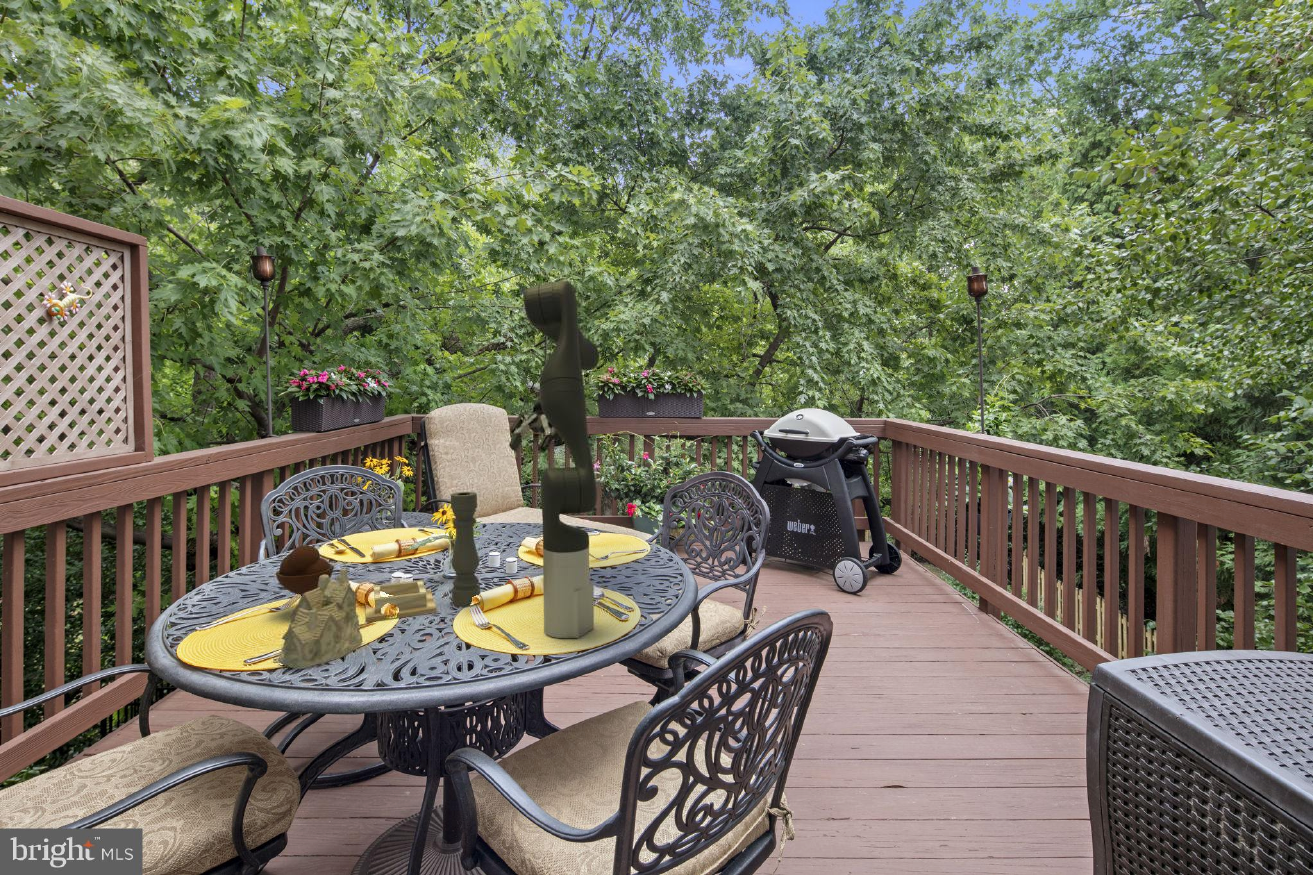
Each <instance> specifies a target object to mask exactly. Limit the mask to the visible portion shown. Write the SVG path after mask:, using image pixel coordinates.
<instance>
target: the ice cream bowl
mask: <svg viewBox="0 0 1313 875" xmlns="http://www.w3.org/2000/svg"><path fill="white" fill-rule="evenodd" d="M334 567H335V566H334V565H333V564H331V563H329V561H327V560H326V559H324V558H322V557H321V555H320V551H319V550H318V548H316V547H314V546H311V545H303V544H302V545H300V546H297V547H295V548H294V549H293V550H292V551H291V552H290V553H289V554H287V555H285V557H283V559H282V560H281V563H280V564H279V570H278V571H276V572H275V576H276V580H277V582H278V583H279V585H280V586H282V587H283V588H284V589H285V590H287V591H288V592H290V593H293V594H295V595H299V596H300V598H301V597H302V595H303V594H304V593H306V592H309V591H312V590H314V589H317V588H318V582H319V577H320V576H322V575H328V576H329V577H330V579H331V577H332V575H333V573H334Z"/></svg>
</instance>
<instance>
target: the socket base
mask: <svg viewBox="0 0 1313 875" xmlns="http://www.w3.org/2000/svg"><path fill="white" fill-rule="evenodd" d="M380 590H381V591H383V592H385V593H386V594H389V595H393V596H388V597H381V596H380ZM373 596H374V599H375V609H374V608H372V607H370V606H368V605H366V604H365V622H366V623H371V622H370V621H373V622H379V621H378V620H380V621H385V620H384V619H387V620H389V619H388V618H387V617H389V616H390V615H384V614H382V613H381V608H382V607H383V606H384V605H385V604H387V603H389V604H393V605H394V606H397V607H398V608H399V612H398V613H397V618H396V619H401V618H407V617H408V618H409V617H415V616H422V615H429V614H436V613H437V606H436V602H435V600H434V596H433V594H432V591H431V589H430V588H429V589H426V587H425V584H424V581H423V579H421V580H411V581H402V582H396V583H387V584H376V585H373ZM391 615H392V616H394V614H391ZM395 615H396V614H395ZM392 616H391V617H392Z"/></svg>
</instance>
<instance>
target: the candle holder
mask: <svg viewBox="0 0 1313 875" xmlns="http://www.w3.org/2000/svg"><path fill="white" fill-rule="evenodd" d="M477 508H478V493H477V492H474V491H459V492H454V493H450V509H451V510H452V511H451V512H452V513H453V515H454V517H455V518H454V519H453V520H452V525H454V527H455V543H454V548H453V552H452V556H451V567H452V569H453V571H454V572H455V575H456V577H455V578H454V580H453V582H452V585H453V587H452V588H451V602H452V606H454V607H459V608H462V607H471V606H470V604H471V602H472V597H474V596H476V595H479V594H480V595H481V587H480V585H479V583H480V581H479V578H478V577H477V576H476V573H477V571H476V570H477V569H478V567H479V565H480V558H479V557H480V556H479V554H478V550H477V545H476V542H475V536H474V526H475V524H477V519H476V518H475V517H474V515H475V513H476V512H477V510H476V509H477Z"/></svg>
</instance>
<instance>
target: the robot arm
mask: <svg viewBox="0 0 1313 875" xmlns="http://www.w3.org/2000/svg"><path fill="white" fill-rule="evenodd" d="M523 306H524V312H525V314H526V315H525V316H526V317H527V319H528V321H529V322H530V324H531V326H533V328H535V329H536V330H538V331H539V332H540V333H542V334H543V335H544V336H546V337H548V339H551V341H553V342H554V343H555V347H554V348H553V350H552V352H551V354H550V356H549V358H547V361H546V363H545V365H544V366H543V369H542V371H541V374H540V376H539V393H540V394H539V395H538V397H537V398H536V400H535V402H534V403H533V405H532V406H533V407H532V412H531V413H530V414H529V415H525V414H524V413H523V412H521V413H519V415H517V418H516V419H515V420H514V422H513V424H511V427H510V428H509V432H510V433H511V434H512V437H511V440H510V441H509V442H508V443H509V444H508V446H509V448H510V449H511V451H514V452H515V451H517V449H518V448H519V446H520V444H521V443H522V441H523V439H524V438H526V437H527V436H529V437H530V436H531V435H532V434H534V433H535V434H536V433H537V434H538V433H540V434H545V435H543V437H542V439H541V441H540V442H539V444H538V447H537V449H538V450H539V451H540V453H544V454H545V453H546V451H548V449H549V447H550V445H551V443H552V442H555V440H557V441H559V440H563V441H564V443H565V444H566V446H567V448H568V450H569V451H570V454H571V458H572V460H573V463H574V466H573V467H572V466H571V467H567V466H566V467H552V468H551V467H550V468H546V469H544V470H543V472H542V474H541V477H540V501H541V516H542V518H541V520H542V556H543V557H542V558H543V559H542V560H543V562H542V564H543V565H542V566H543V567H542V568H543V569H542V570H543V574H542V576H543V578H542V579H543V582H542V583H543V631H544V633H545V635H547V636H548V637H552V638H557V639H570V638H574V639H579V638H581V637H582V636H584V635H585V634H587V633H589V632H590V631H592V630H594V628H595V622H594V620H595V617H594V616H595V614H594V613H595V607H594V606H595V605H594V598H595V597H594V594H595V593H594V592H595V591H594V590H595V588H594V587H595V586H594V583H593V582H590V535H589V533H588V532H587V531H586V530H584V529H582V528H579V527H575V526H572V525H569V524H566V523H565V522H563V521H562V520H561V518H560V516H561V515H565V514H566V515H568V514H582V513H583V514H584V513H589V512H592V511H594V509H595V508H596V505H597V499H598V495H597V494H598V490H597V489H598V488H597V481H596V475H595V469H594V468H595V467H594V463H593V457H592V450H591V445H590V439H589V431H588V430H589V429H588V423H587V421H588V420H587V406H586V394H585V393H586V392H585V382H584V377H583V371H589V372H590V371H592V370H594V369H595V368H596V367H597V366H598V364H599V361H600V351H599V349H598V347H597V346H596V345H595V343H593V341H591V340H590V339H588V338H587V337H585V336H584V334H583V332H582V330H581V329H580V327H579V318H578V317H579V314H578V311H579V310H578V300H577V296H576V291H575V289H574V286H573V284H572V283H571V282H570V281H567V280H561V281H560V280H559V281H552V282H548V283H543V284H542V283H541V284H537V285H533V286H529V287H528V288H526V289H525V291H524V293H523ZM527 427H529V429H528V428H527ZM553 428H554V429H553Z"/></svg>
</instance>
